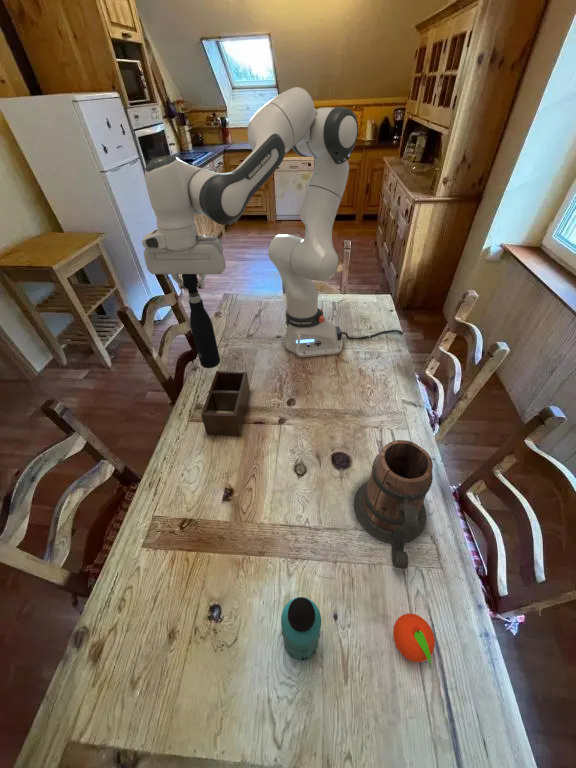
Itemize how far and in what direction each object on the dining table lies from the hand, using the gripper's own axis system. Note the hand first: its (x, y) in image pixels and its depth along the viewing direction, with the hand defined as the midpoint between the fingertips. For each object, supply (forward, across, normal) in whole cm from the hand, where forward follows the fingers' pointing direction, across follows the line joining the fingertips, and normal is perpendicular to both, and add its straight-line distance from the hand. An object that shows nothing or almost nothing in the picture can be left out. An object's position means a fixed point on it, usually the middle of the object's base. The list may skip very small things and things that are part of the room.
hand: (192, 288), depth 93 cm
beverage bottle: (+35, -33, +70) cm, 85 cm away
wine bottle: (+26, 0, 0) cm, 26 cm away
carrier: (+35, -8, +14) cm, 38 cm away
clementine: (+35, -53, +69) cm, 94 cm away
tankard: (+35, -52, +46) cm, 78 cm away
